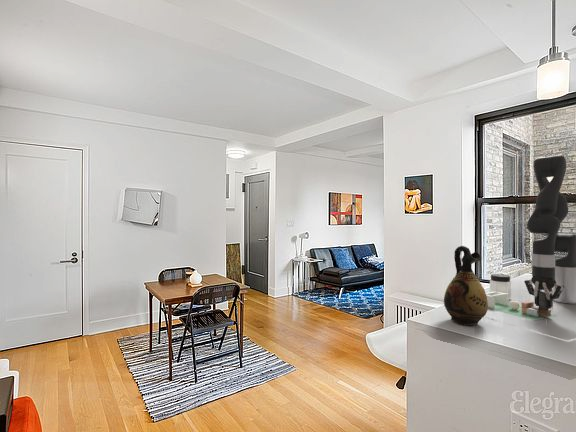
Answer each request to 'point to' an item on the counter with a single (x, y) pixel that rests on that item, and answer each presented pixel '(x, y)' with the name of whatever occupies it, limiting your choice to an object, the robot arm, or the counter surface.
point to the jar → (500, 284)
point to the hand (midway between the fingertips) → (543, 307)
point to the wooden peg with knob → (542, 305)
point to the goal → (497, 298)
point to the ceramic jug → (465, 291)
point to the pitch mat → (515, 311)
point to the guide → (533, 312)
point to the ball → (514, 305)
